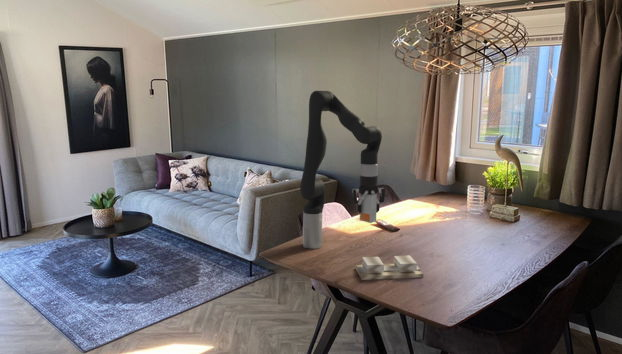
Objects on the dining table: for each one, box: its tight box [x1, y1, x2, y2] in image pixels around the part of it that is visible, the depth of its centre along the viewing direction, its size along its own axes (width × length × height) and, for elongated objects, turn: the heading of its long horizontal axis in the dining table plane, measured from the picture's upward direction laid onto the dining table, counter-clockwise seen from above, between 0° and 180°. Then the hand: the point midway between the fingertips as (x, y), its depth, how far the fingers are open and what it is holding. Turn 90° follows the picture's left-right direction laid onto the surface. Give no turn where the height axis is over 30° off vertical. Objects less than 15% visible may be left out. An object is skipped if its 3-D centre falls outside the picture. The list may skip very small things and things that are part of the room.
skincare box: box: [359, 193, 378, 224], centre depth 199 cm, size 6×4×12 cm
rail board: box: [355, 255, 424, 281], centre depth 197 cm, size 26×12×6 cm, turn 97°
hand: (368, 212), depth 199 cm, fingers closed on skincare box, 6 cm apart
